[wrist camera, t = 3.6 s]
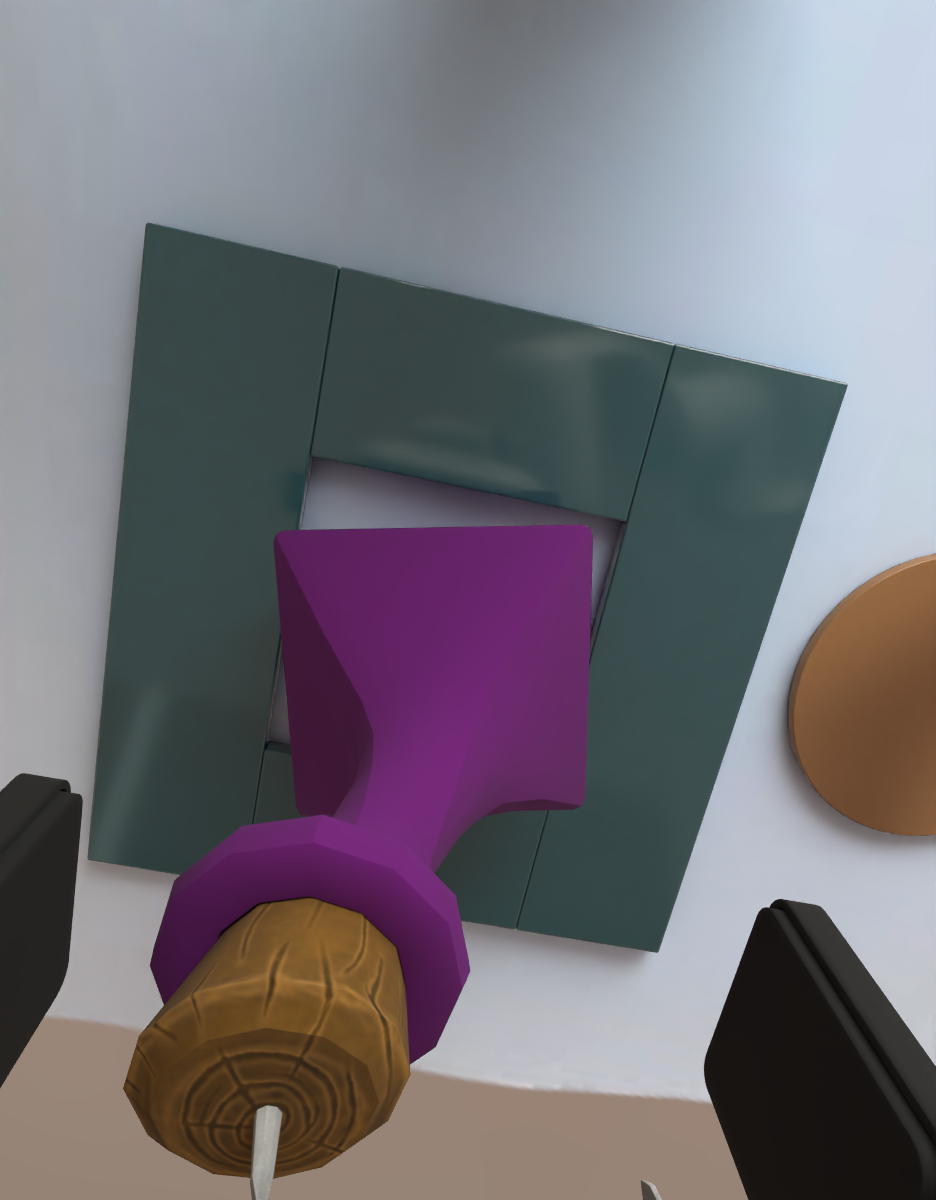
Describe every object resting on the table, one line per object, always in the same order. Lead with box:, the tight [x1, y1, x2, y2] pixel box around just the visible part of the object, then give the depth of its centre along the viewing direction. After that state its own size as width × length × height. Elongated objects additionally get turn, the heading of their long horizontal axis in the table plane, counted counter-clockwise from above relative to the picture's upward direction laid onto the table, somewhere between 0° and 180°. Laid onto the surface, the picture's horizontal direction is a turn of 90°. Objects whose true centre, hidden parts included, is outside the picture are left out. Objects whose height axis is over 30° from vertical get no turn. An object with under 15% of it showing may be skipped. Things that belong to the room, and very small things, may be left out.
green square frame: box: [88, 223, 847, 953], centre depth 22 cm, size 18×18×1 cm
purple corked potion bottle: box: [123, 525, 662, 1200], centre depth 14 cm, size 8×8×18 cm
